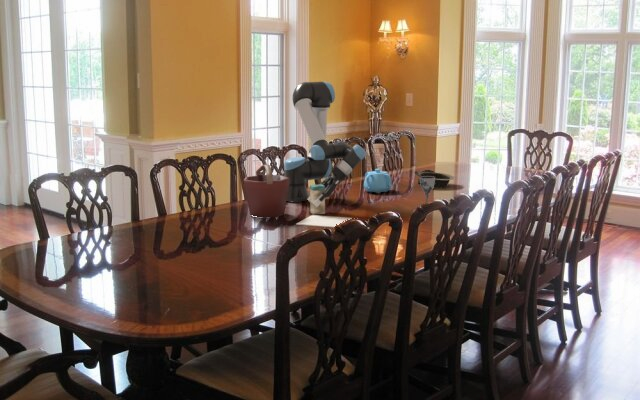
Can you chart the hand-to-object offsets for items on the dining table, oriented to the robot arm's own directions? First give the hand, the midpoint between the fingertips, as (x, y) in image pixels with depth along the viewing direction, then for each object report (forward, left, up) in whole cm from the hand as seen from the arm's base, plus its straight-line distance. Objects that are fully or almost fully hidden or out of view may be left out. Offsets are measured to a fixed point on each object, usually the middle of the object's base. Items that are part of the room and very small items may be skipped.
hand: (311, 203), depth 343 cm
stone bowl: (+42, +98, -5) cm, 107 cm away
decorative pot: (+14, +69, -5) cm, 70 cm away
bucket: (-20, -10, -5) cm, 23 cm away
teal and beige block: (+2, +2, -5) cm, 6 cm away
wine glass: (+50, +38, -5) cm, 63 cm away
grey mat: (+14, -16, -5) cm, 22 cm away
